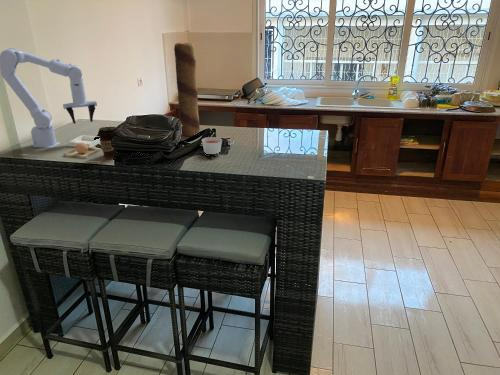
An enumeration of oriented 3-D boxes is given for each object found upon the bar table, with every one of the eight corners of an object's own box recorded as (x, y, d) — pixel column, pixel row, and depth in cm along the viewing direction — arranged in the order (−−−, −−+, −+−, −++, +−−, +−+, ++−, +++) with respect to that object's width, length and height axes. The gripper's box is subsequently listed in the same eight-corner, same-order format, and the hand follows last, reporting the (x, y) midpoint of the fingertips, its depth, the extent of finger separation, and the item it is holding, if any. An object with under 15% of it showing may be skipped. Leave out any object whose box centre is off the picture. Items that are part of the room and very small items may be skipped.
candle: (211, 158, 171) (211, 144, 168) (198, 153, 177) (197, 140, 174) (226, 153, 177) (226, 140, 175) (212, 149, 183) (212, 136, 180)
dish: (68, 147, 182) (67, 141, 181) (82, 140, 192) (82, 135, 191) (90, 149, 180) (89, 143, 179) (103, 141, 190) (102, 137, 189)
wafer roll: (175, 134, 204) (169, 42, 185) (189, 130, 212) (184, 41, 193) (189, 137, 198) (185, 44, 180) (203, 133, 206) (200, 43, 188)
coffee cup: (115, 161, 166) (111, 131, 161) (97, 159, 167) (92, 130, 162) (125, 154, 174) (121, 126, 168) (108, 153, 175) (104, 124, 170)
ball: (74, 154, 172) (71, 144, 169) (81, 150, 176) (79, 140, 174) (84, 155, 170) (81, 144, 168) (91, 151, 175) (88, 140, 172)
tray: (64, 157, 169) (63, 154, 169) (79, 149, 179) (79, 146, 179) (86, 159, 167) (86, 156, 167) (101, 151, 177) (100, 148, 176)
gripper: (62, 96, 173) (68, 126, 178) (96, 93, 180) (100, 122, 186) (60, 93, 178) (65, 122, 184) (93, 91, 186) (97, 119, 191)
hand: (83, 122), depth 185 cm, fingers open, 7 cm apart
